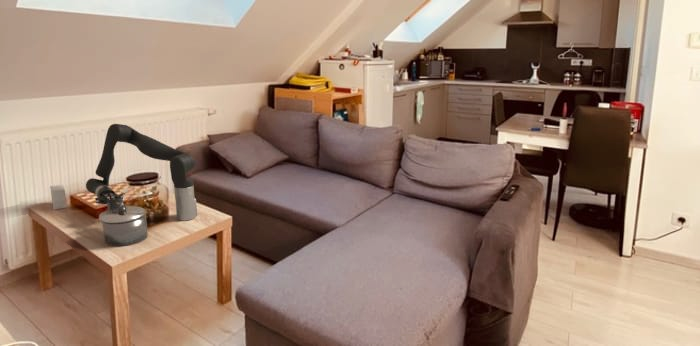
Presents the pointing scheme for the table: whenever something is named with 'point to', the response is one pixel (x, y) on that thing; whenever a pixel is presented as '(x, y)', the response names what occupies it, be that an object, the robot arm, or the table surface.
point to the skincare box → (58, 197)
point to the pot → (125, 232)
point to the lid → (120, 212)
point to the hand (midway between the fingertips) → (114, 203)
